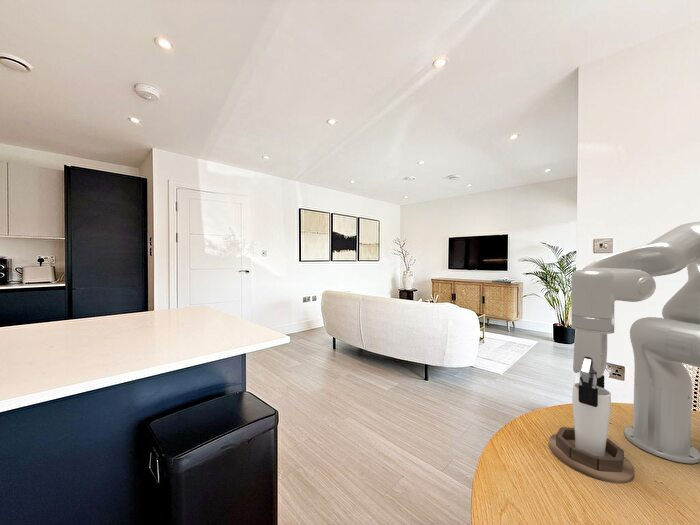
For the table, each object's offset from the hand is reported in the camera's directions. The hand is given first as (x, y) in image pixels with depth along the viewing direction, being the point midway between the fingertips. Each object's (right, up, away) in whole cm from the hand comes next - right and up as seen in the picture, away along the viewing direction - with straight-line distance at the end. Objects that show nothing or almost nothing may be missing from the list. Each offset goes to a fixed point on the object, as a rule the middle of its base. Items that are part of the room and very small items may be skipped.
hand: (591, 396), depth 65 cm
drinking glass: (-1, -13, 0) cm, 13 cm away
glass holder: (-1, -14, 0) cm, 14 cm away
